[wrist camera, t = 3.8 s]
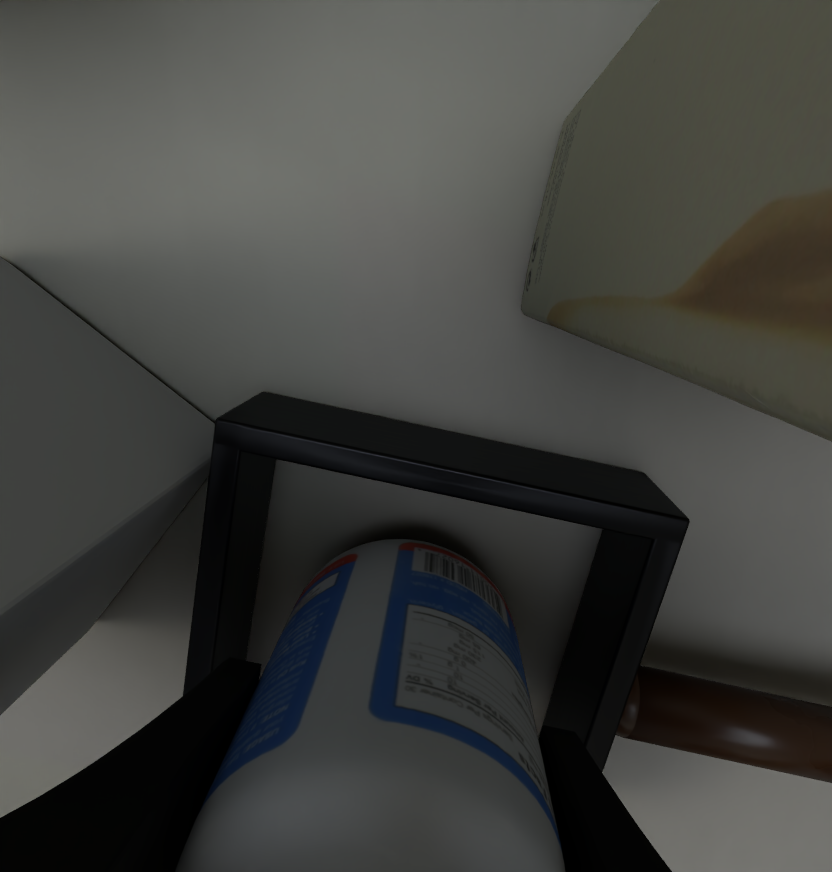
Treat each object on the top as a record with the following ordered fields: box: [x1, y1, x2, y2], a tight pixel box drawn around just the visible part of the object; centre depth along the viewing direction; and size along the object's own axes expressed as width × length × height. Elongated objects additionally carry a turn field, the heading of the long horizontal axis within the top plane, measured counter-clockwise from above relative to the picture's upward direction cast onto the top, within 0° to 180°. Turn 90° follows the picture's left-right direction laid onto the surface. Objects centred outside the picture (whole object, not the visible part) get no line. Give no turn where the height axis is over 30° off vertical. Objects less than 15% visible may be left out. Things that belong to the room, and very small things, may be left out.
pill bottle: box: [175, 539, 566, 872], centre depth 10 cm, size 6×5×10 cm
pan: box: [183, 392, 832, 783], centre depth 14 cm, size 18×10×3 cm, turn 78°
